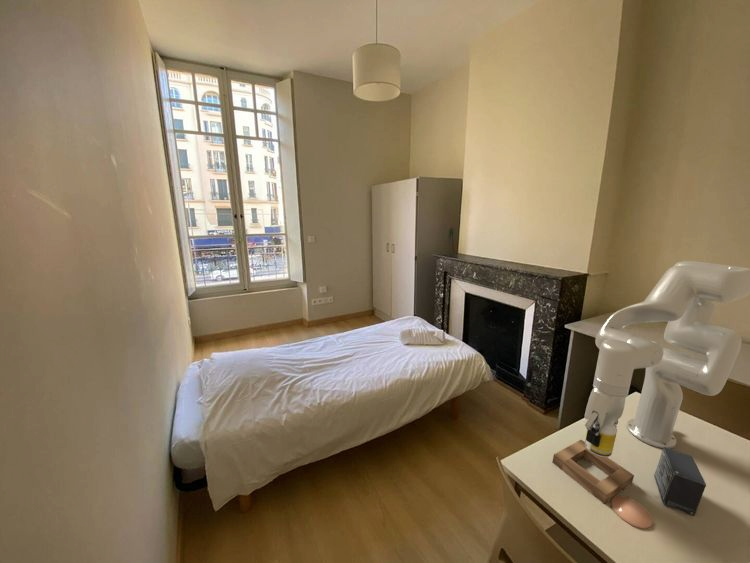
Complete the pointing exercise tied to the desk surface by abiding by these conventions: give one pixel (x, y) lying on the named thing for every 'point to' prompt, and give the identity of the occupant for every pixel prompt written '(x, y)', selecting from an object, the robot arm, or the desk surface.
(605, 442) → the pill bottle
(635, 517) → the coaster
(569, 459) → the pocket holder
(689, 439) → the desk surface
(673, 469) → the small box
